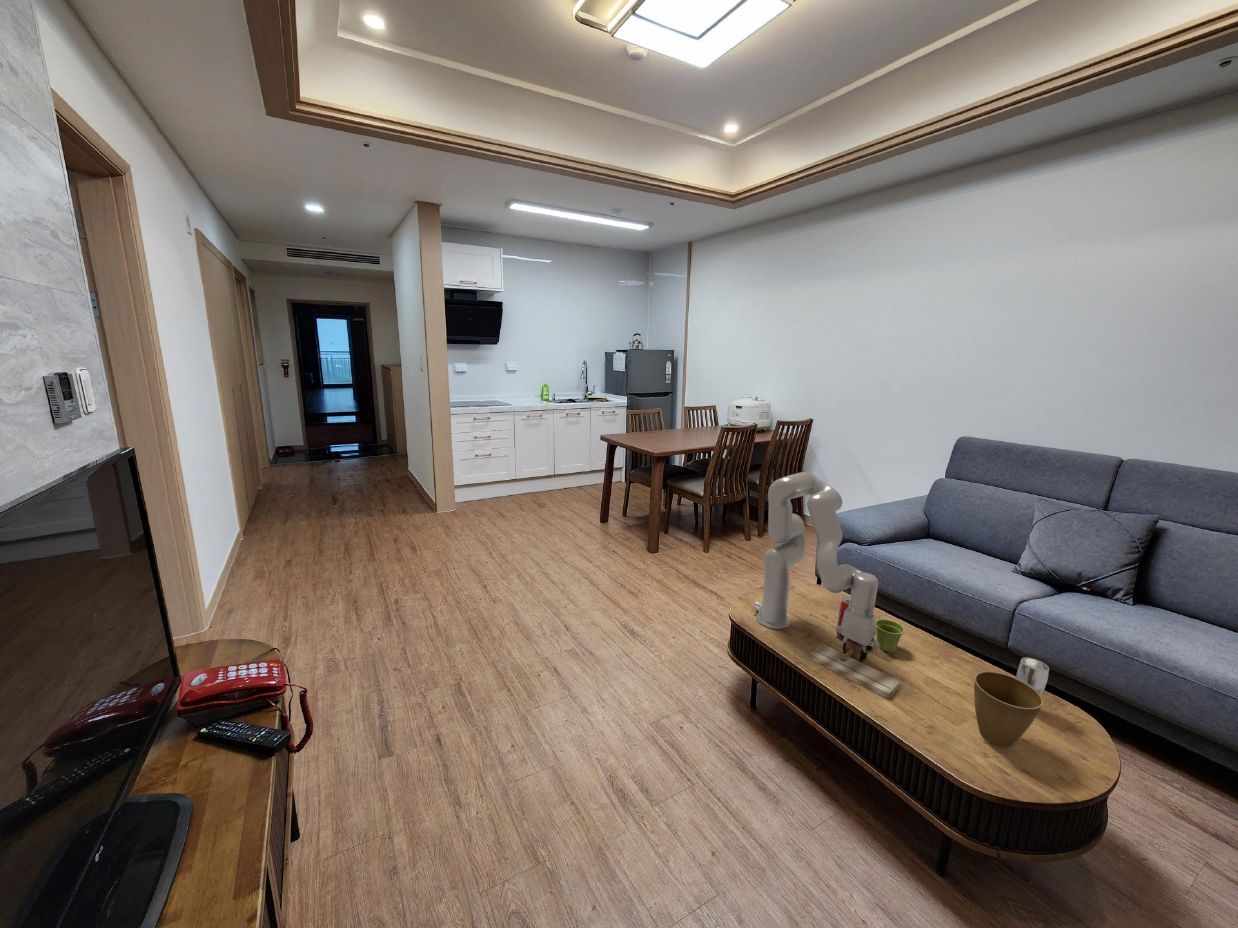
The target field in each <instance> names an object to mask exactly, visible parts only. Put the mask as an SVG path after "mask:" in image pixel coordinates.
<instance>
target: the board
mask: <svg viewBox="0 0 1238 928" xmlns="http://www.w3.org/2000/svg"><path fill="white" fill-rule="evenodd" d="M809 654H810V655H809V660H811V661H813V662H815V663H817V664H819V665H820V666H823V667H824V668H827V669H829V671H830V670H831V671H832V672H835V673H836V674H838V675H840V676H842V677H844V678H846V679H849V680H850V681H852V682H854V683H856V684H858V685H859V686H862V687H863V688H866V689H867V690H869V691H871V692H873V693H875V694H877V695H878V696H880V697H883V698H885V699H886V700H889V699H890V698H891V697H892V696H893V694H895V693H896V691H898V689H899V688H900V687H901V681H900V680H898V679H896V678H894V677H893V676H889V675H888V674H886V673H884V672H881V671H879V670H878V669H875V668H873V667H871V666H869V665H867V664H865V663H863V662H859V661H857V660H855V659H853V658H851V657H849V658H847V659H846V661H845V662H843V661H841V660H840V658H841V657H842V656H843V655H845V654H844V653H843V652H841V651H838V650H836V649H835V648H832V647H830V646H828V645H825V644H824V643H823V644H821V646H819V647H817V648H816V649H815V650H812V652H810V653H809Z"/></svg>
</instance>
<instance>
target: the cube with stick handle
mask: <svg viewBox="0 0 1238 928" xmlns="http://www.w3.org/2000/svg"><path fill="white" fill-rule="evenodd" d="M861 651H862V644H859V643H857V642H855V641H853V640H850V639H848V640H847V642H846V649H845V654H844V655H843V656H842V657H841V658H840V660H841V661H843V662H845V661H846V659H847V658H849V657H851V658H853V659H855V660H857V661H859V662H860V654H861Z"/></svg>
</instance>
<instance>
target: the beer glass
mask: <svg viewBox="0 0 1238 928" xmlns="http://www.w3.org/2000/svg"><path fill="white" fill-rule="evenodd" d="M1049 671H1050V667H1049V666H1048V665H1047V664H1046V663H1044V662H1043V661H1040V660H1039V659H1036V658H1032V657H1022V658H1021V660H1020V662H1019V664H1018V668H1017V672H1016V676H1015V678H1016V679H1018V680H1020V681H1022V682H1024V683H1026V684H1027V685H1029V686H1030V687H1032V688H1033V689H1034V690H1036V691H1037V692H1038V693H1039V695H1040V696H1041V697H1042V694H1043V692H1044V691H1045V688H1046V685H1047V682H1048V679H1049Z"/></svg>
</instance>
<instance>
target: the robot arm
mask: <svg viewBox="0 0 1238 928" xmlns="http://www.w3.org/2000/svg"><path fill="white" fill-rule="evenodd" d="M767 491H768V493H767V494H768V495H767V499H768V501H767V502H768V525H767V526H768V529H767V530H768V536H769V539H770V540H771V541H772V542H773V543H775V545H773V546H771V547H769V548H768V549H767V551H766V552H765V554H764V556H763V557H764V558H763V563H764V580H763V581H764V582H763V583H764V584H763V592H762V600H761V601H762V602H761V603H760V602H758V601H754V604H753V609H754V610H756V611H758V613H756V620H757V621H758V623H759V624H761V625H763V626H764V627H766V628H769V629H775V630H781V629H783V630H784V629H786V628H788V627H789V626H790V624H791V619H790V618H789V617H788V615H787V613H788V606H789V599H790V597H789V596H790V588H791V576H790V571H789V570H790V568H792V567H793V566H795V565H797V564H799V563H800V562H802V561H803V560H804V556H805V554H806V553H805V552H806V551H805V550H806V526H805V522H804V520H803V519H802V517H801V516H800V515H798V514H797V513H793V505H792V501H791V500H792V499H797V498H800V497H803V496H806V497H808V498H807V502H806V505H807V506H806V508H807V511H808V513H809V517H810V519H811V523H812V526H813V529H814V532H815V535H816V536H815V537H816V540H817V543H816V554H815V555H816V556H815V558H816V567H817V571H818V573H819V577H820V580H821V582H822V585H823V586H824V587H825V589H827V591H829V592H831V593H833V594H838V593H842V592H844V591H846V590H847V589H849V588H851V593H850V597H851V598H850V600H846V604H848V605H849V607H848V608H846V610H845V613H844V616H843V619H842V623H841V625H840V626H838V627H837V626H836V627H835V632H836V631H837V632H838V633H839V635H840V637H841V638H842V639H841V638H840V639H841V640H842V643H843V645H842V650H843V651H842V654H844V655H845V649H846V642H847V640H848V639H850V640H853V641H855V642H857V643H859V644H862V651H861V654H860V662H861V663H863V662H864V661H866V660H867V659H868V653H869V652H871V651H873V650H877V649H880V648H879V647H880V645H879V644H878V642H877V637H876V624H875V622H876V615H875V614H874V612H875V606H876V600H877V593H878V587H879V580H878V578H877V576H875V575H874V574H871V573H869V572H864V571H862V570H860V569H858V568H856V567H854V566H853V565H850V564H848V563H843V564H838V563H839V562H838V550H839V547H840V546H841V545H840V544H841V543H842V540H843V536H844V535H843V529H842V527H841V524H840V521H839V518H838V514H837V511H839V510H840V509H841V508H842V506H843V498H842V496H841V494H840V493H839V492H838V491H837V490H836V489H835V488H833V487H832V486H830V485H829V484H828V483H826V482H825V481H824V480H822V479H820V478H819V477H818V476H816V475H814V474H812V473H810V472H806V471H802V472H797V473H793V474H790V475H787V476H783V477H781V478H778V479H776V480H774V481H773V482H772V483H771V484H770V486H769V487H768V490H767Z"/></svg>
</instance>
